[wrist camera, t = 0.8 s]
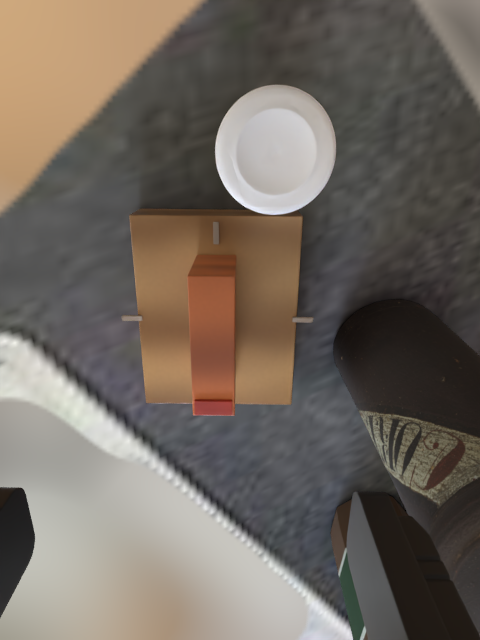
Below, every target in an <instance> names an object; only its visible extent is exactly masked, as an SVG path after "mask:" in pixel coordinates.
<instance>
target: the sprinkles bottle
mask: <svg viewBox="0 0 480 640" xmlns="http://www.w3.org/2000/svg"><path fill="white" fill-rule="evenodd" d="M215 157H216V165H217V169H218V173H219V175H220V178H221V180H222V182H223V184H224V186H225V188H226V189H227V191H228V192H229V193H230V194H231V196H232V197H233V198H234V199H235V200H236V201H238V202H239V203H240V204H241V205H243V206H244V207H246V208H248V209H250V210H252V211H255V212H258V213H262V214H268V215H280V214H286V213H290V212H293V211H295V210H298V209H300V208H302V207H304V206H305V205H307V204H308V203H310V202H311V201H312V200H313V199H314V198H315V197H316V196H317V195H318V194H319V193H320V192H321V191H322V189H323V188H324V187H325V185H326V183H327V182H328V180H329V177H330V175H331V173H332V170H333V167H334V163H335V157H336V138H335V133H334V129H333V126H332V123H331V120H330V118H329V116H328V114H327V113H326V111H325V110H324V108H323V107H322V106H321V105H320V103H319V102H318V101H317V100H316V99H314V98H313V97H312V96H311V95H309V94H308V93H306V92H304V91H302V90H300V89H298V88H295V87H291V86H286V85H268V86H263V87H260V88H257V89H255V90H252V91H250V92H249V93H247V94H245V95H244V96H242V97H241V98H240V99H239V100H238V101H236V103H235V104H234V105H233V106H232V107H231V108H230V109H229V111H228V112H227V114H226V115H225V117H224V119H223V121H222V122H221V125H220V127H219V130H218V134H217V138H216V145H215Z"/></svg>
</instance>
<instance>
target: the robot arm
mask: <svg viewBox="0 0 480 640" xmlns="http://www.w3.org/2000/svg"><path fill="white" fill-rule="evenodd" d="M34 542H35V534H34V529H33V524H32V520H31V516H30V511H29V507H28V502H27V498H26V494H25V492H24V490H23V489H22V488H7V487H1V488H0V617H1V615H2V613H3V612H4V610H5V608H6V606H7V604H8V602H9V600H10V598H11V596H12V594H13V592H14V591H15V589H16V587H17V585H18V583H19V581H20V579H21V577H22V575H23V573H24V571H25V570H26V568H27V566H28V564H29V561H30V559H31V557H32V553H33V549H34ZM347 556H348V563H349V567H350V571H351V575H352V579H353V583H354V587H355V590H356V594H357V598H358V602H359V606H360V609H361V613H362V617H363V621H364V625H365V629H366V632H367V636H368V640H480V635H479V633H478V631H477V629H476V627H475V625H474V623H473V621H472V619H471V617H470V615H469V613H468V611H467V609H466V607H465V605H464V603H463V601H462V599H461V597H460V595H459V593H458V591H457V589H456V587H455V585H454V583H453V581H452V580H450V575H449V573H448V571H447V569H446V567H445V565H444V563H443V561H441V559H440V555H439V553H438V551H437V549H436V547H435V545H434V543H433V541H432V539H431V537H430V535H429V534H428V533H427V532H426V531H425V529H424V528H423V527H422V526H421V525H420V524H419V523H418V522H417V521H416V520H415V519H414V518H413V517H412V516H397V513H396V511H395V509H394V506H393V504H392V502H391V499H390V497H389V495H388V494H387V493H386V492H354V493H353V496H352V503H351V510H350V517H349V525H348V532H347Z"/></svg>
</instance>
